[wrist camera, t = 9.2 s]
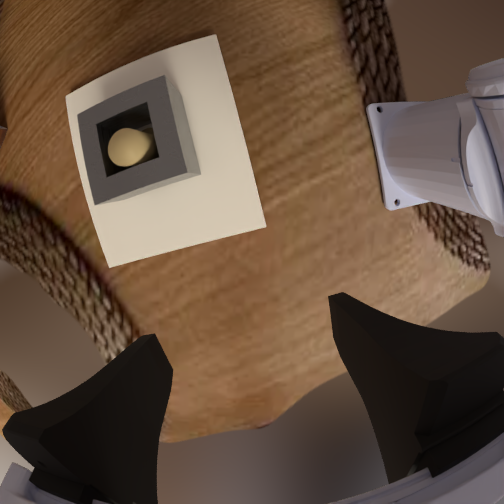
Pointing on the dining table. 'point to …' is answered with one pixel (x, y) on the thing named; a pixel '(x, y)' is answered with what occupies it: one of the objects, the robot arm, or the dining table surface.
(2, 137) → the food container
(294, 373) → the dining table surface
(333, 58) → the dining table surface
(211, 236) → the shaft board
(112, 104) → the collar
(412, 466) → the robot arm
